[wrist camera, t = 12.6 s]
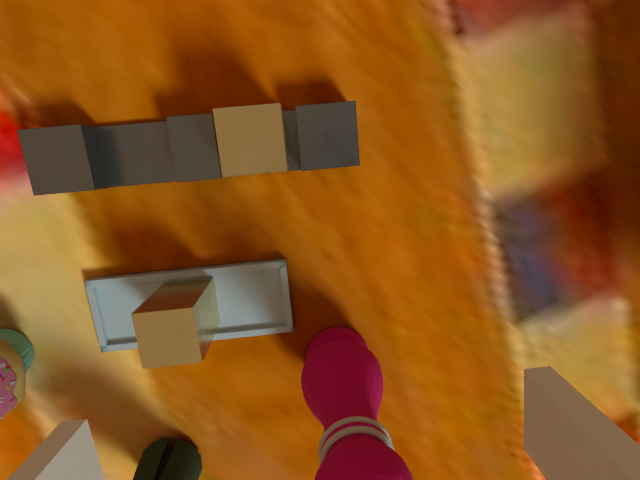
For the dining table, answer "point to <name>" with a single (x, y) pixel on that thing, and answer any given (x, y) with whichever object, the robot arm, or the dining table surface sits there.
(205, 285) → the beige rectangular block
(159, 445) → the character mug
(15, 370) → the cupcake
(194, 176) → the gray notched bar
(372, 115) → the dining table surface
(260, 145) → the cream upright block
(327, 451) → the pepper mill
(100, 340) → the tray
